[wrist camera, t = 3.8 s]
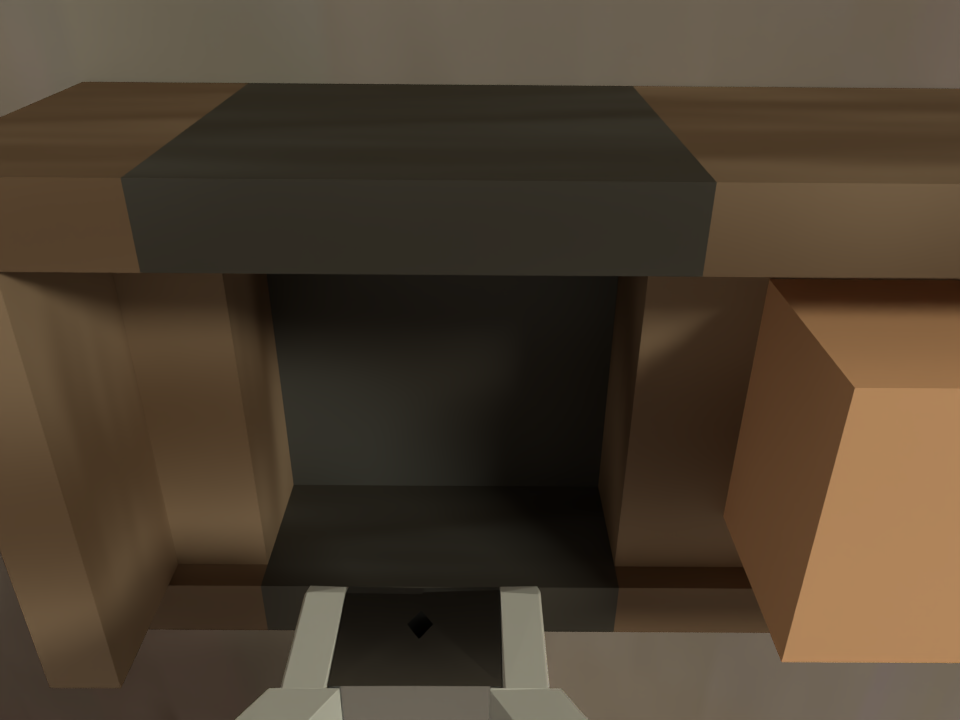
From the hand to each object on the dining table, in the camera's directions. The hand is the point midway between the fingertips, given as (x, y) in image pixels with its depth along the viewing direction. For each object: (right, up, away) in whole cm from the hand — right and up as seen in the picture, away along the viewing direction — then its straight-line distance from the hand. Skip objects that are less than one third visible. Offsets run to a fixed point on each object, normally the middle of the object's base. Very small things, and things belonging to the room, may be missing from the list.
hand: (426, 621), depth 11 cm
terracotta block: (+9, +3, +4) cm, 10 cm away
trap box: (+14, +4, +7) cm, 16 cm away
